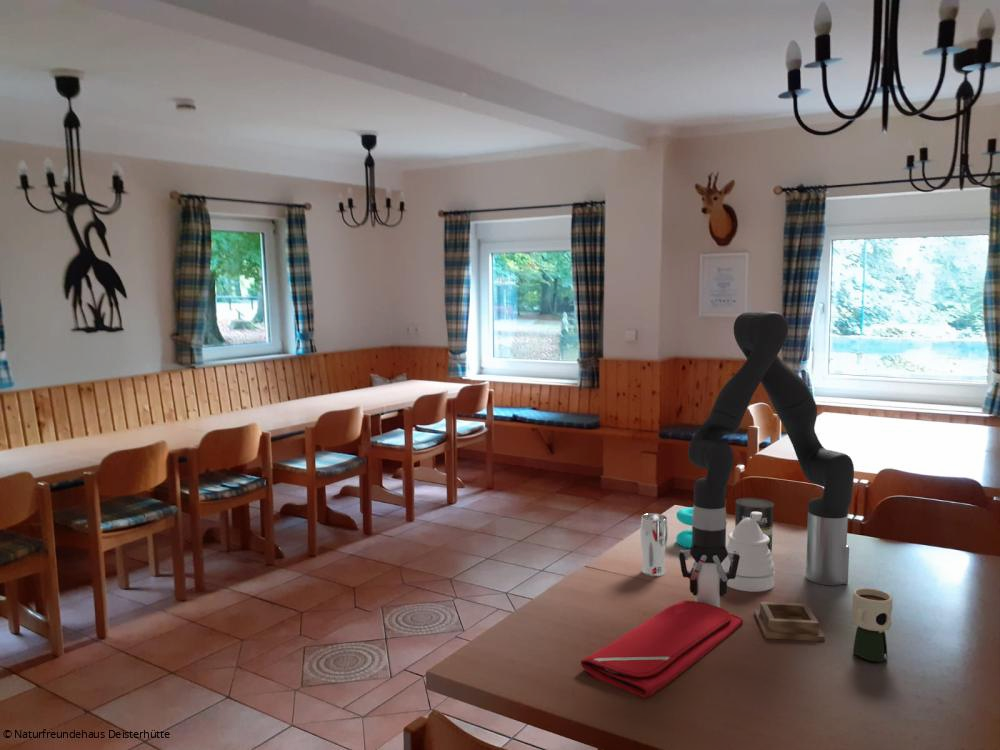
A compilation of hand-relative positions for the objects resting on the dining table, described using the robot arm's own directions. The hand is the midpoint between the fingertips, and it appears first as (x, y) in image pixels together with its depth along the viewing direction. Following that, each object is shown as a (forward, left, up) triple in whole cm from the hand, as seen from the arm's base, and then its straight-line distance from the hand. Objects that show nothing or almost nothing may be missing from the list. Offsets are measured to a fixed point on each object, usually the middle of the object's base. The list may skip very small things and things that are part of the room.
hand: (707, 594), depth 176 cm
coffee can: (-18, -41, -3) cm, 45 cm away
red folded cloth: (+11, +21, -4) cm, 24 cm away
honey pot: (-12, -17, -3) cm, 21 cm away
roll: (0, -1, -3) cm, 3 cm away
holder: (-16, +9, -3) cm, 19 cm away
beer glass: (+11, -21, -3) cm, 24 cm away
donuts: (-2, -45, -3) cm, 45 cm away
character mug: (-29, +21, -3) cm, 36 cm away
